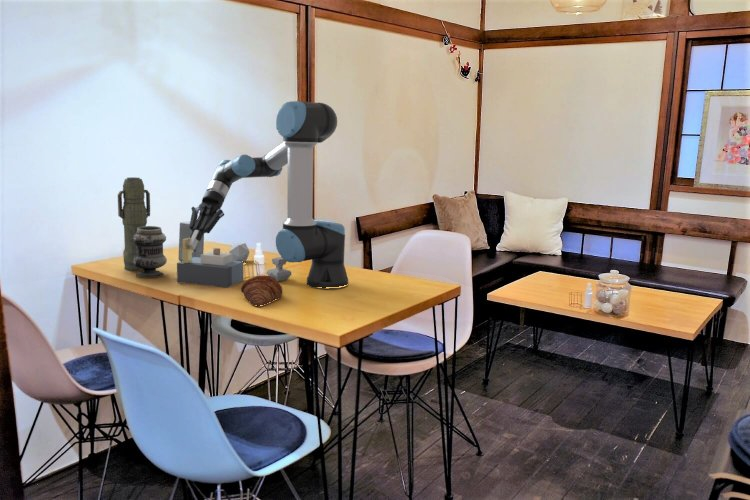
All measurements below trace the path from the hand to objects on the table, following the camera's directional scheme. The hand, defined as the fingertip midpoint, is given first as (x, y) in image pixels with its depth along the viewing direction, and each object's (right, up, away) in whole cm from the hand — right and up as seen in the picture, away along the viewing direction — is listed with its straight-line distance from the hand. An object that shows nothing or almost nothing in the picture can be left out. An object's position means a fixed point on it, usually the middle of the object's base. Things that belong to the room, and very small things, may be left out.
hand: (191, 246), depth 237 cm
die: (+9, -6, +39) cm, 40 cm away
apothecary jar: (-18, -11, +10) cm, 23 cm away
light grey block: (+8, -6, +3) cm, 11 cm away
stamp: (+30, -13, +10) cm, 34 cm away
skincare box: (-11, -6, +39) cm, 41 cm away
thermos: (-27, -8, +20) cm, 35 cm away
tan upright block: (-1, -5, +1) cm, 6 cm away
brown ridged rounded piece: (+28, -18, -17) cm, 37 cm away
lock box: (+6, -13, +4) cm, 14 cm away
